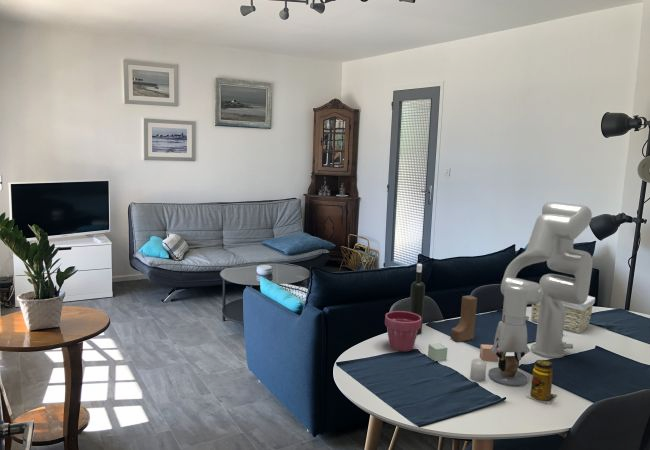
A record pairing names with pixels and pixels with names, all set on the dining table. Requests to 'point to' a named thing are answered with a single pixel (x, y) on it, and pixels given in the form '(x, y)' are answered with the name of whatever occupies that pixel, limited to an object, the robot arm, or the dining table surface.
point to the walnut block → (510, 366)
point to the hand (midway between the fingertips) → (508, 369)
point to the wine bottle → (417, 296)
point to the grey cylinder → (478, 370)
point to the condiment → (542, 382)
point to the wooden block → (466, 320)
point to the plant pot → (402, 329)
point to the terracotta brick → (488, 353)
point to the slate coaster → (507, 378)
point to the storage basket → (572, 314)
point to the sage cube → (437, 352)
